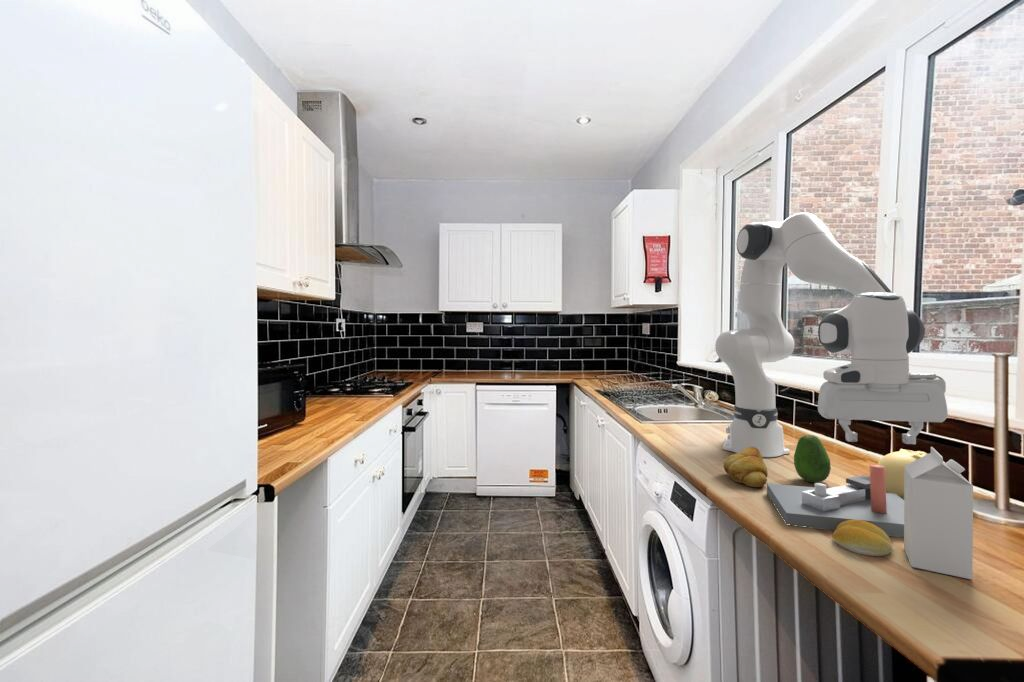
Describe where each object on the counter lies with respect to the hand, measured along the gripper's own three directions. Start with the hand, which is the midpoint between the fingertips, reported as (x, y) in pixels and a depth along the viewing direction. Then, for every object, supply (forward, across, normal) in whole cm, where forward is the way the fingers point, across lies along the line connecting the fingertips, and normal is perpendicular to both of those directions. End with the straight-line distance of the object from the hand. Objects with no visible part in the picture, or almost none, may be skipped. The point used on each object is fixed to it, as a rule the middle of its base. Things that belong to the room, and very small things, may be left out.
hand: (879, 442), depth 87 cm
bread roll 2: (+17, +7, +10) cm, 21 cm away
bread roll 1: (+17, +21, -20) cm, 33 cm away
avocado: (+16, +5, -23) cm, 29 cm away
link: (+14, +7, -3) cm, 16 cm away
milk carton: (+17, -2, +15) cm, 22 cm away
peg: (+14, 0, 0) cm, 14 cm away
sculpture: (+17, -13, -18) cm, 28 cm away
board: (+16, +5, -3) cm, 18 cm away
